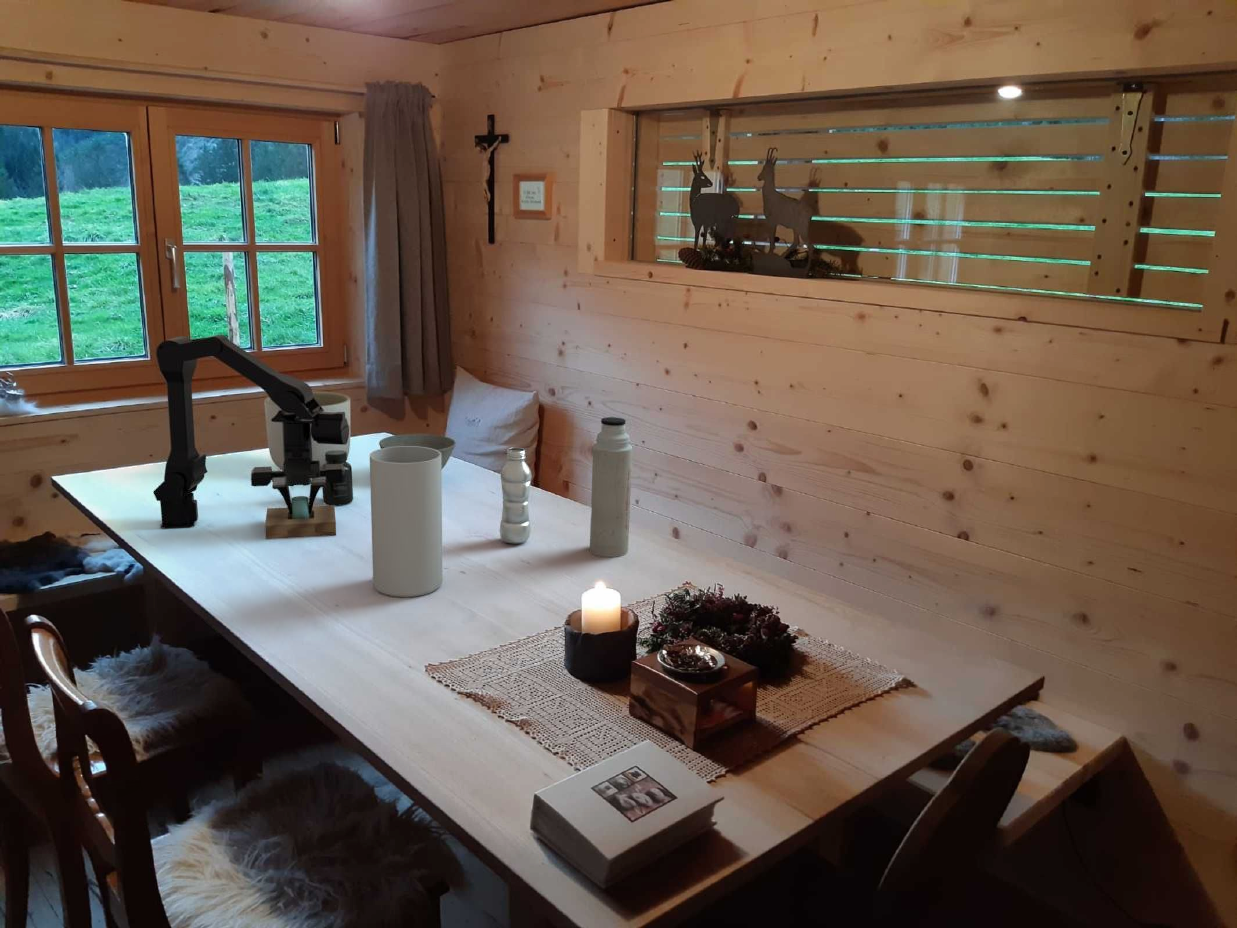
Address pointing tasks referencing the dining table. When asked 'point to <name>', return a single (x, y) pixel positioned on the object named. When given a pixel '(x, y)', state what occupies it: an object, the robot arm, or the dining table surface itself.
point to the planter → (275, 436)
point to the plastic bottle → (515, 497)
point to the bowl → (422, 443)
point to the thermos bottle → (611, 489)
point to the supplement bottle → (338, 491)
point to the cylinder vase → (406, 520)
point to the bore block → (300, 523)
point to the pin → (300, 507)
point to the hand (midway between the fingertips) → (300, 513)
